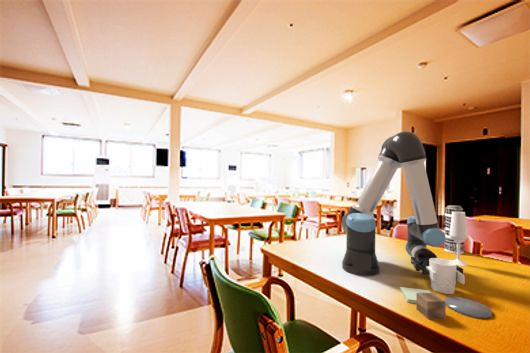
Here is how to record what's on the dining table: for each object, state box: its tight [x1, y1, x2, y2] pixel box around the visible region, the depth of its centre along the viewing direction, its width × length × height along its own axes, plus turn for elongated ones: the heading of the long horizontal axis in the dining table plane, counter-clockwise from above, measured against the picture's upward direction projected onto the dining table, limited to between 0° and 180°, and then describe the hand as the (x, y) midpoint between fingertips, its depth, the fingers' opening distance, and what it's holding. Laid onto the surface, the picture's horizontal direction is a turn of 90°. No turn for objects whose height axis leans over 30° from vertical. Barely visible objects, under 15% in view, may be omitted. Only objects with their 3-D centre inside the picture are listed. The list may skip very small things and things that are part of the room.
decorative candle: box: [442, 204, 465, 255], centre depth 132 cm, size 9×9×25 cm
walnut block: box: [416, 292, 447, 320], centre depth 70 cm, size 5×5×5 cm
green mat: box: [399, 286, 432, 304], centre depth 79 cm, size 9×9×1 cm
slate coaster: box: [444, 296, 493, 319], centre depth 73 cm, size 11×11×1 cm
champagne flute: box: [449, 211, 469, 267], centre depth 112 cm, size 7×7×24 cm
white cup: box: [429, 257, 458, 295], centre depth 85 cm, size 8×8×10 cm
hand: (448, 278), depth 80 cm, fingers closed on white cup, 7 cm apart
